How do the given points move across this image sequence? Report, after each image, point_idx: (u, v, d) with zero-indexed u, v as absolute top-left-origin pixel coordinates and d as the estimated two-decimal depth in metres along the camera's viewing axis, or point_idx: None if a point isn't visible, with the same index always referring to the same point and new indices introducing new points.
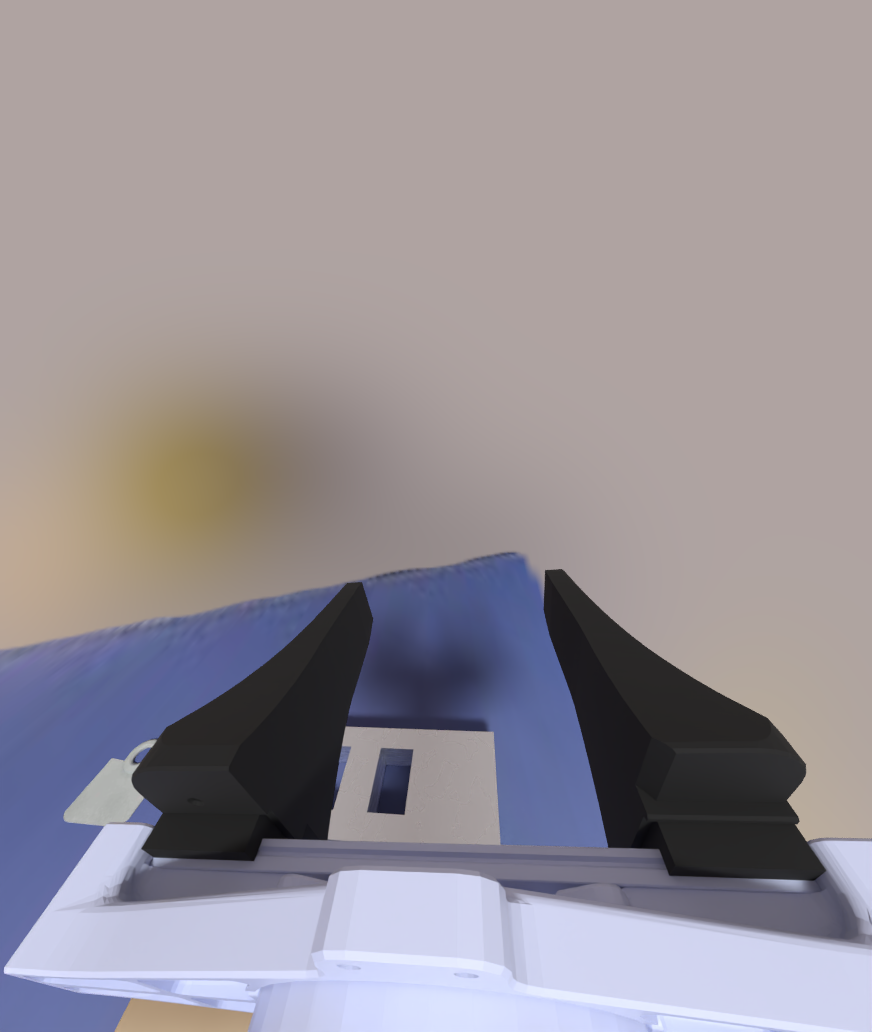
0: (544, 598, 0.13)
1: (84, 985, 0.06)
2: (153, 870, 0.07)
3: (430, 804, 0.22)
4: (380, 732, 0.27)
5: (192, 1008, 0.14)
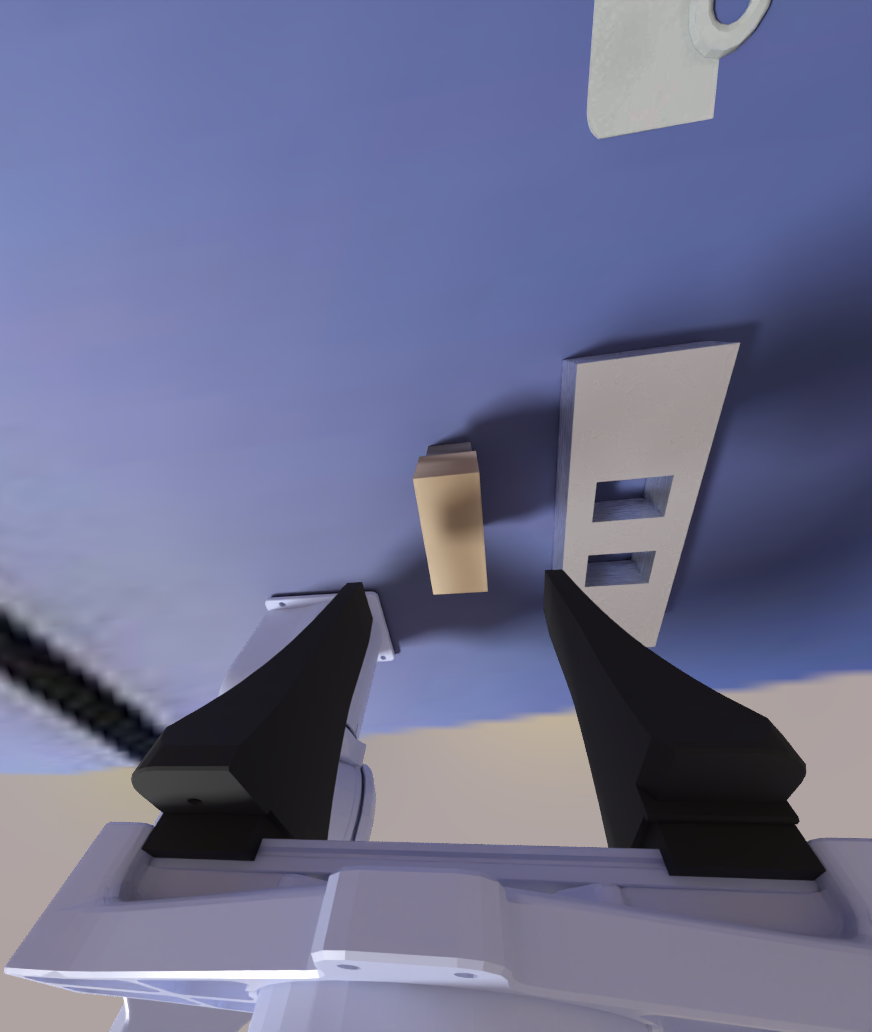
0: (544, 598, 0.13)
1: (84, 985, 0.06)
2: (153, 870, 0.07)
3: None
4: (677, 545, 0.20)
5: (449, 531, 0.16)
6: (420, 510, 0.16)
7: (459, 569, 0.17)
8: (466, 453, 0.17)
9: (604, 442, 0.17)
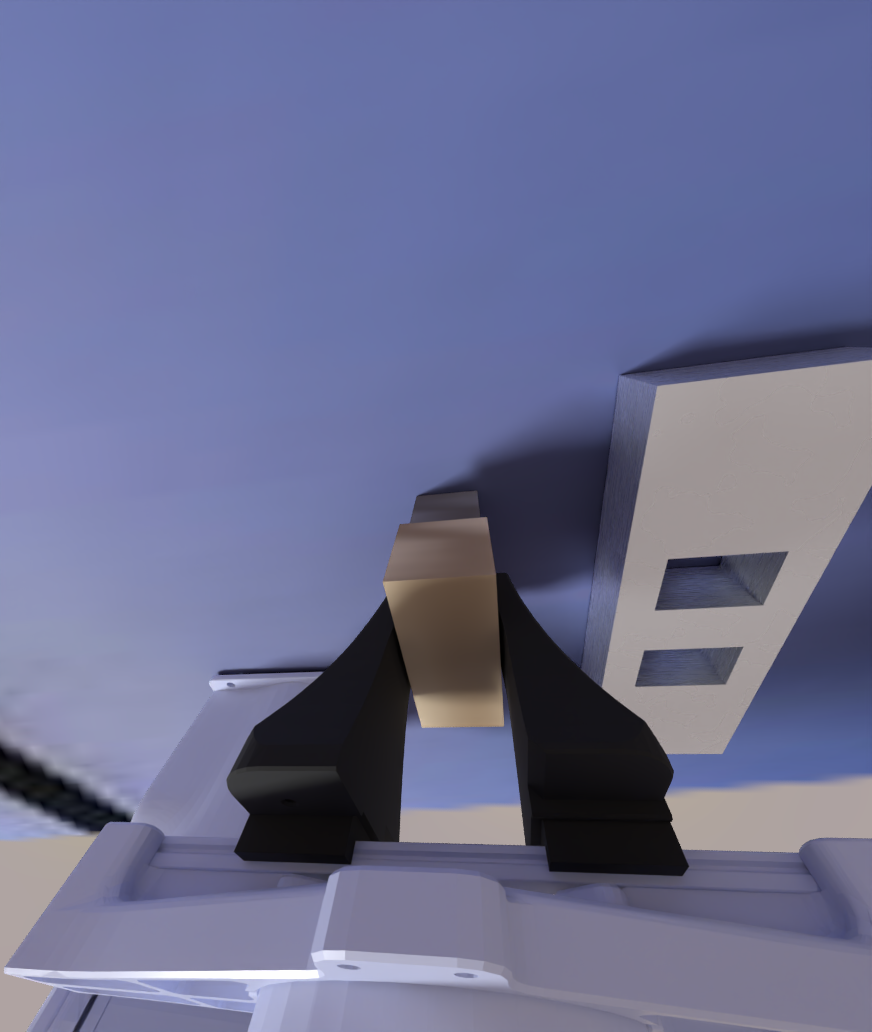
0: None
1: (84, 985, 0.06)
2: (153, 870, 0.07)
3: (643, 707, 0.17)
4: (775, 640, 0.14)
5: (444, 653, 0.10)
6: (397, 625, 0.10)
7: (460, 700, 0.11)
8: (472, 522, 0.11)
9: (687, 504, 0.11)
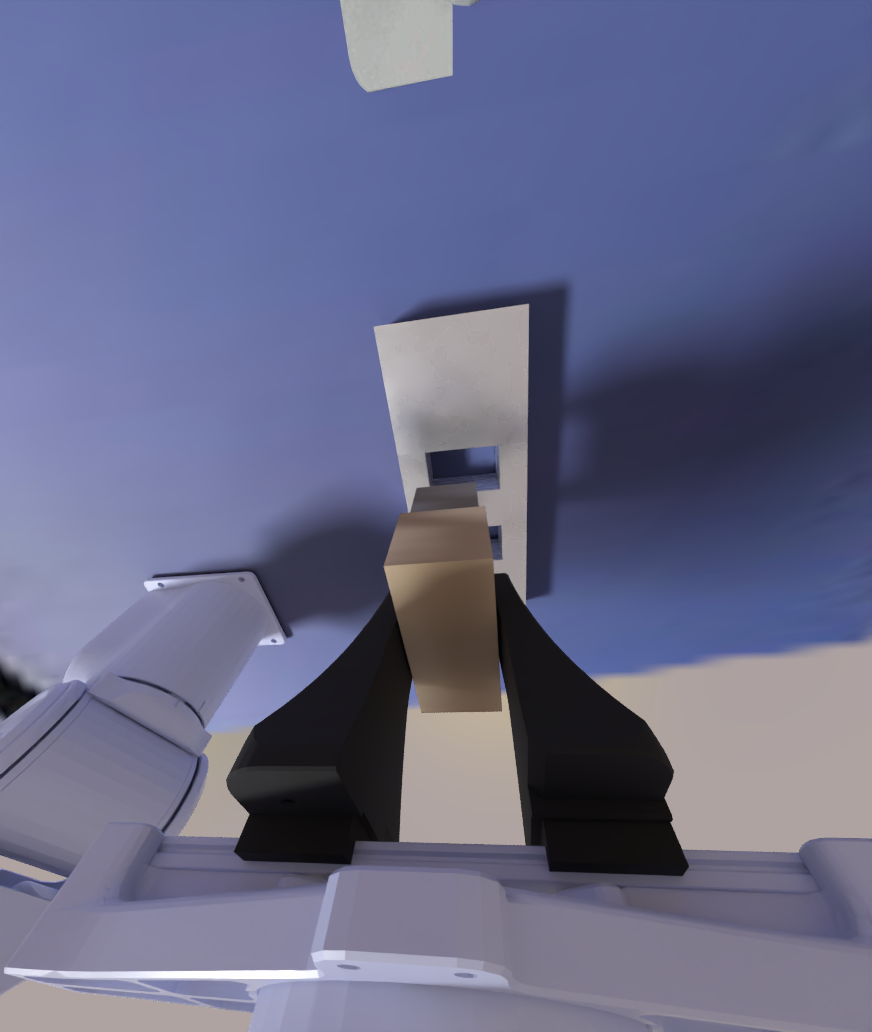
0: None
1: (84, 985, 0.06)
2: (153, 870, 0.07)
3: None
4: (520, 519, 0.20)
5: (443, 637, 0.10)
6: (397, 609, 0.10)
7: (459, 684, 0.12)
8: (470, 511, 0.11)
9: (421, 410, 0.17)
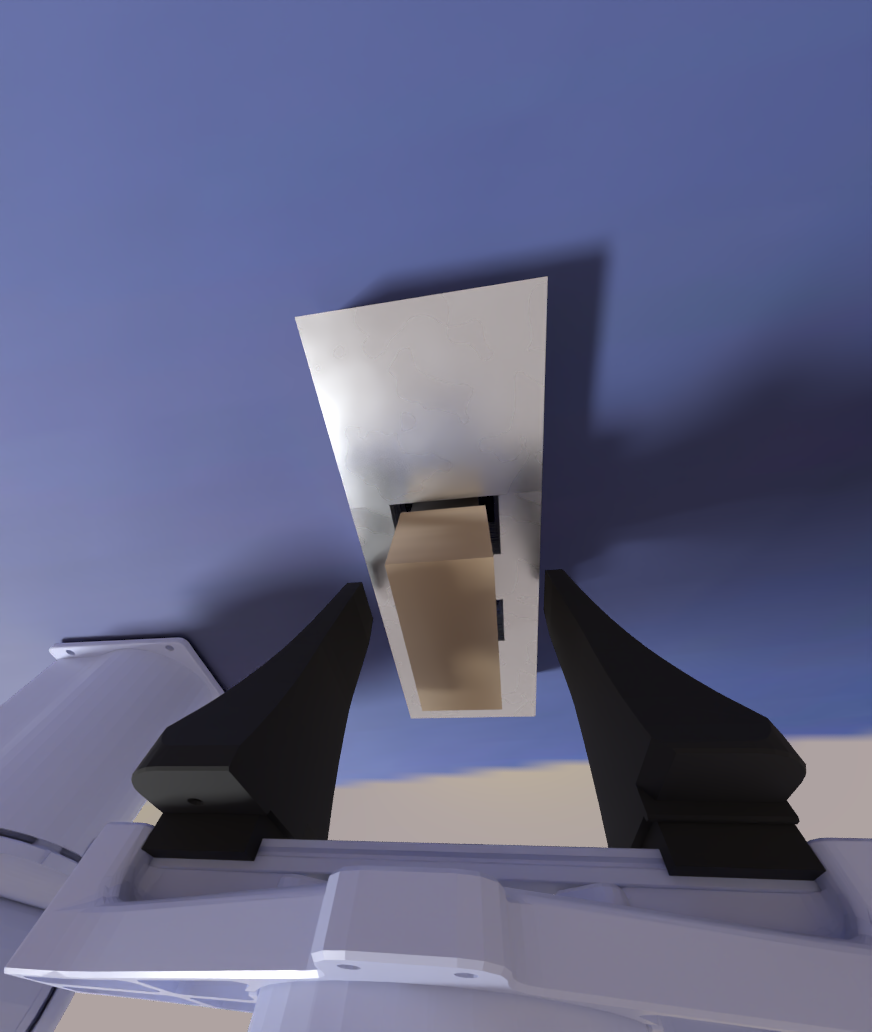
0: (544, 598, 0.13)
1: (84, 985, 0.06)
2: (153, 870, 0.07)
3: None
4: (530, 592, 0.14)
5: (444, 636, 0.10)
6: (398, 608, 0.10)
7: (459, 682, 0.12)
8: (471, 510, 0.11)
9: (381, 445, 0.11)
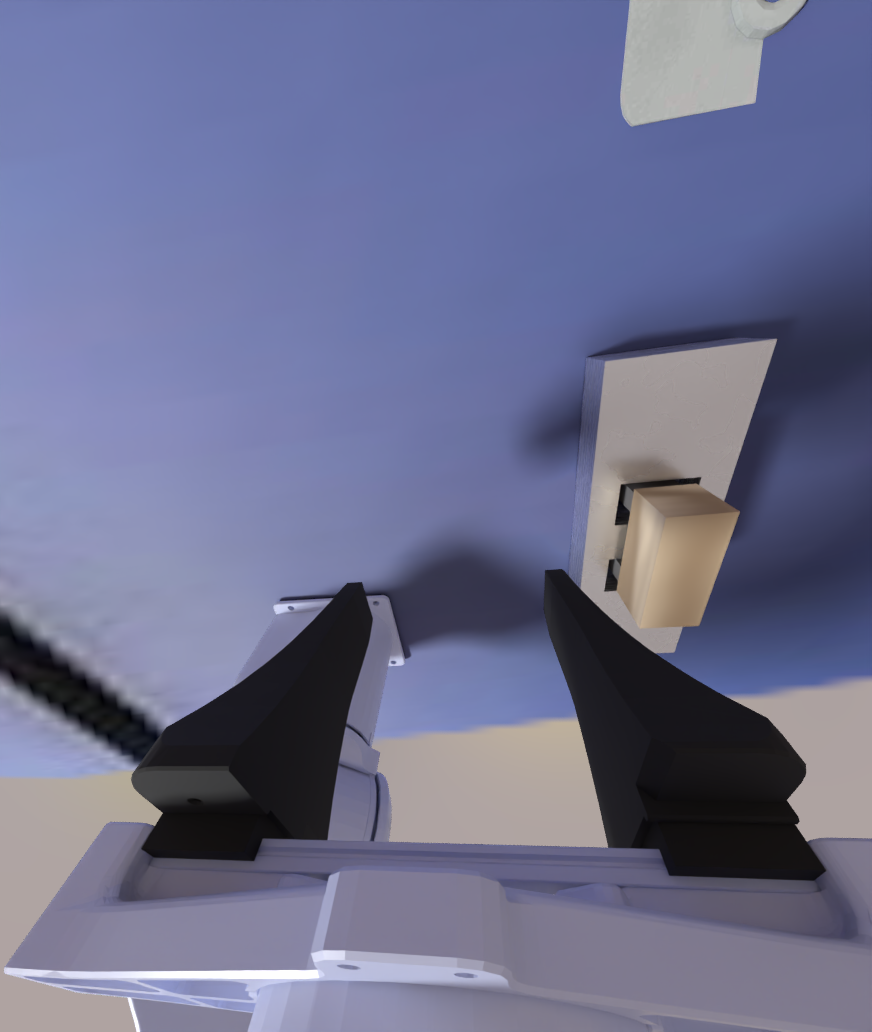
0: (544, 598, 0.13)
1: (84, 985, 0.06)
2: (153, 870, 0.07)
3: (611, 609, 0.22)
4: None
5: (682, 568, 0.16)
6: (660, 548, 0.15)
7: (677, 604, 0.17)
8: (689, 486, 0.17)
9: (630, 443, 0.17)
